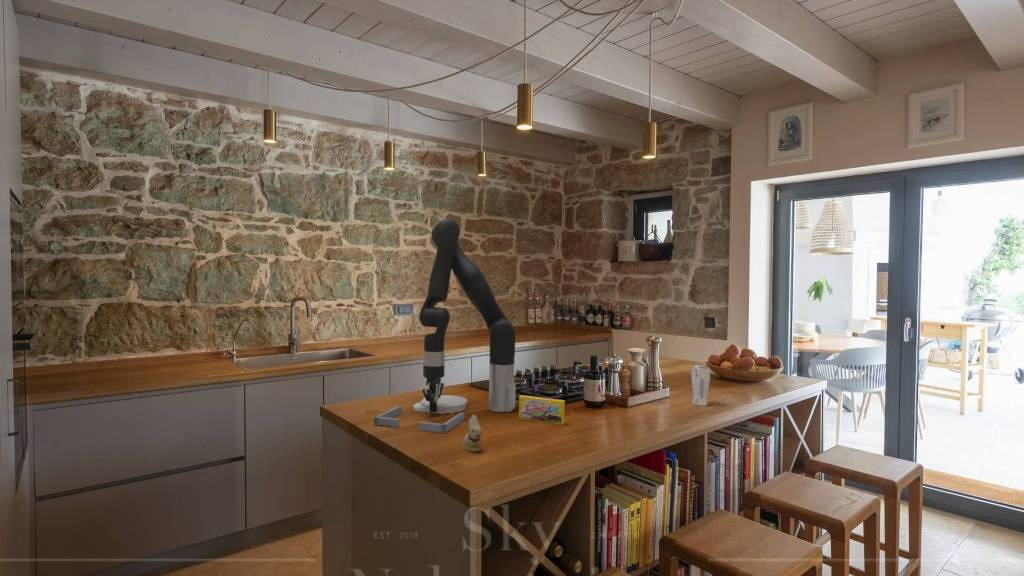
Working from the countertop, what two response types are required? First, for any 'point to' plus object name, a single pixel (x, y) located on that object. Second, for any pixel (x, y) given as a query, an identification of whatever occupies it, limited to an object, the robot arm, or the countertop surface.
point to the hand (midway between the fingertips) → (433, 412)
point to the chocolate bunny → (473, 436)
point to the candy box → (542, 409)
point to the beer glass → (700, 384)
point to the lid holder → (388, 420)
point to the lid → (443, 404)
